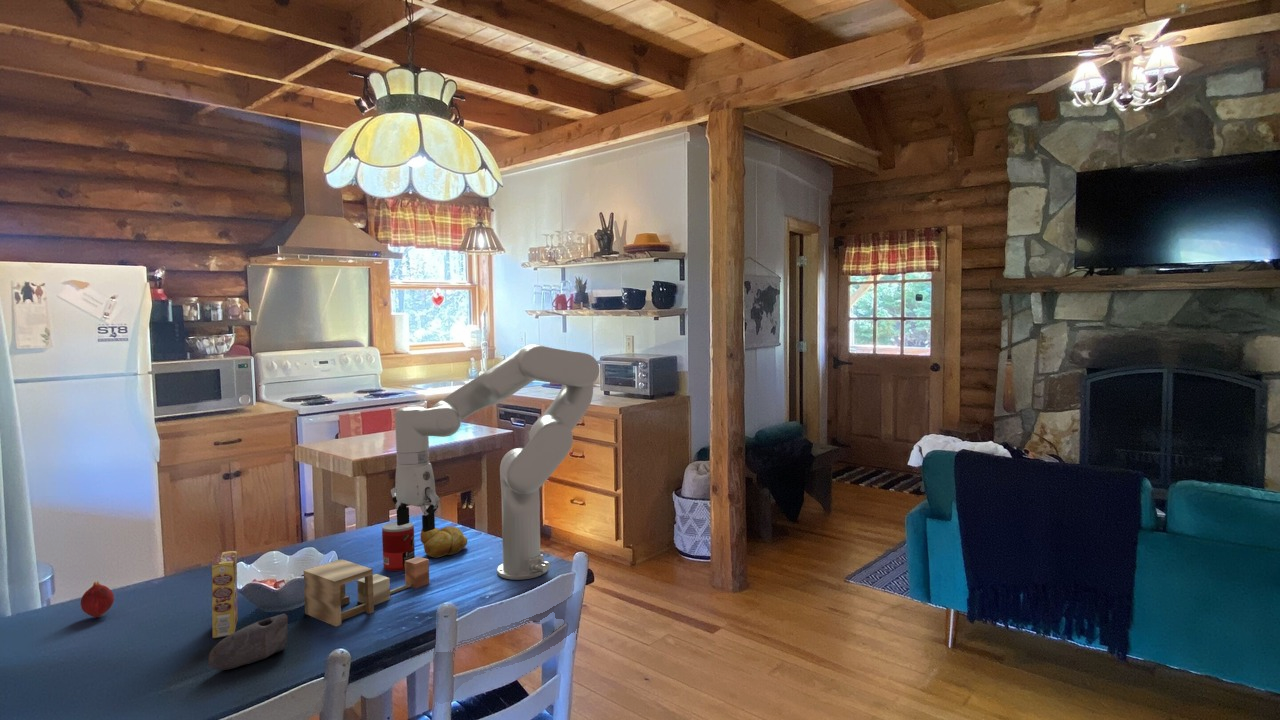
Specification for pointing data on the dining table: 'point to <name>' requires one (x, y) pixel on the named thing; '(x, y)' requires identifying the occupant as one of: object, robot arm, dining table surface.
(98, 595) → the red pomegranate
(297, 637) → the dining table surface
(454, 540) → the bread roll
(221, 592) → the candy box
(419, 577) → the birch block with cord
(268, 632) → the perforated stone tool
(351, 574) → the oak shelf cubby
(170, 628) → the dining table surface
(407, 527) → the canned food
